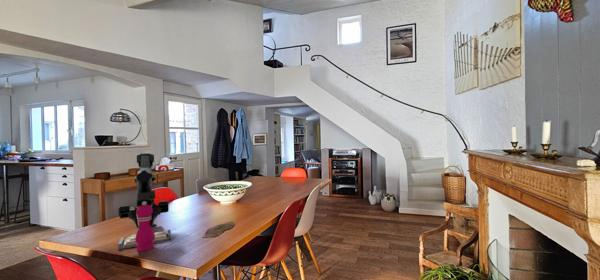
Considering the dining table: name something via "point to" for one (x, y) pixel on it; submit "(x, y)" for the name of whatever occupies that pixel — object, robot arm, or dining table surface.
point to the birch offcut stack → (157, 236)
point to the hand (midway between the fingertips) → (144, 226)
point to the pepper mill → (144, 228)
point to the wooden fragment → (218, 229)
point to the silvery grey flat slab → (121, 244)
